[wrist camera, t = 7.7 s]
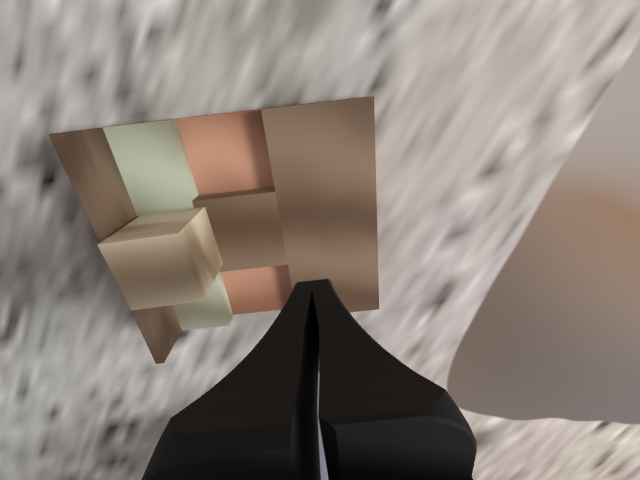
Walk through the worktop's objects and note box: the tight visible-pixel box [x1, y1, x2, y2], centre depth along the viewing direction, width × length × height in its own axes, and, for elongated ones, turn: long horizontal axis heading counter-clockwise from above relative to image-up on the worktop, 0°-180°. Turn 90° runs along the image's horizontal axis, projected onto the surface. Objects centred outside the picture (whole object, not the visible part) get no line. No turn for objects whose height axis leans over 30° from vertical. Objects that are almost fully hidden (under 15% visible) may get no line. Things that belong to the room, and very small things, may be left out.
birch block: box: [98, 207, 223, 311], centre depth 17 cm, size 4×4×4 cm
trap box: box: [49, 96, 379, 364], centre depth 18 cm, size 14×15×4 cm
